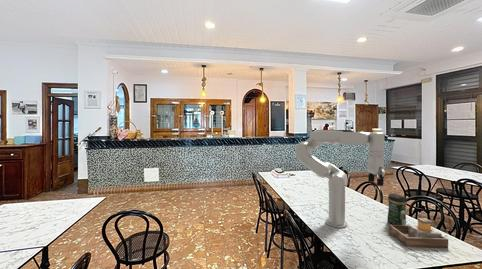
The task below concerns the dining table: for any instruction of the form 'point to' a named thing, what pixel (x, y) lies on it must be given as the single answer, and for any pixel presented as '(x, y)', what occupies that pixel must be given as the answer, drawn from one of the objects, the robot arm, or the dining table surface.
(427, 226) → the connector
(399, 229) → the walled box
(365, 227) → the dining table surface
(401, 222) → the coffee jar
